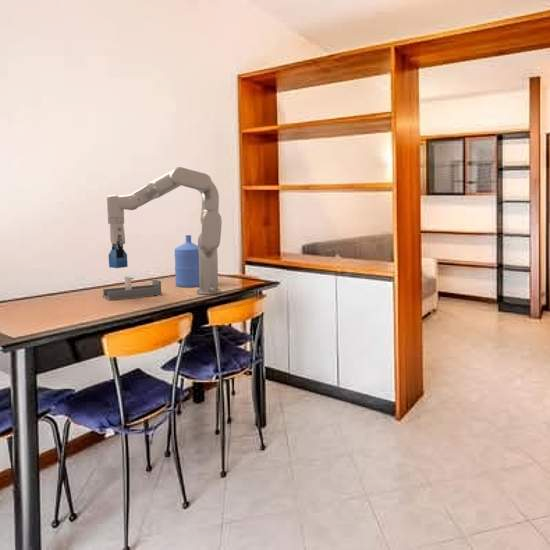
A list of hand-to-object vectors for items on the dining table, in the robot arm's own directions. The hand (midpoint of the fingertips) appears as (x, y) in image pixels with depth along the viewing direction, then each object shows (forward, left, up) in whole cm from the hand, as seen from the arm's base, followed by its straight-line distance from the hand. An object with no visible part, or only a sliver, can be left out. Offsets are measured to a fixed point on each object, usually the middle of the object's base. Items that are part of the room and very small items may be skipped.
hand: (117, 256), depth 253 cm
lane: (-1, -6, -20) cm, 21 cm away
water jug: (+15, -43, -20) cm, 50 cm away
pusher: (-1, -5, -19) cm, 19 cm away
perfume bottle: (0, 0, -5) cm, 5 cm away
